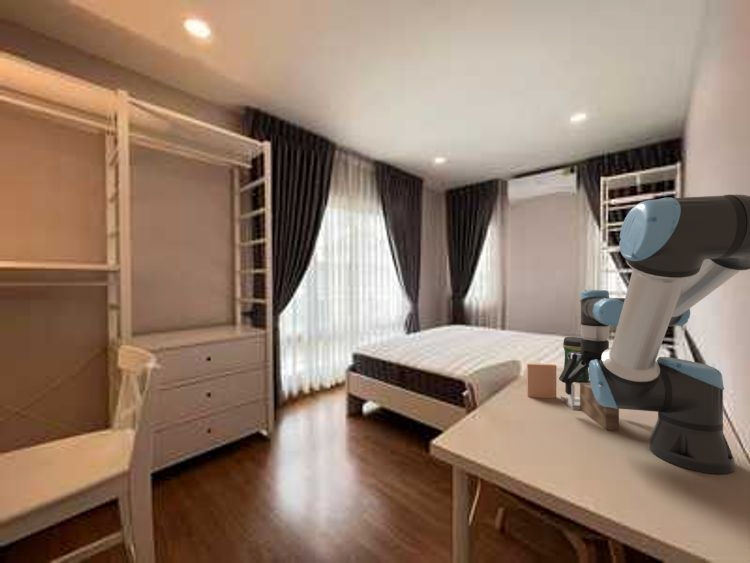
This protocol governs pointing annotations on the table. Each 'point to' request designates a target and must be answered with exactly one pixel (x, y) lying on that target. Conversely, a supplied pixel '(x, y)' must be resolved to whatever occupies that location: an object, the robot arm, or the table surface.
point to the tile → (541, 380)
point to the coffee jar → (575, 347)
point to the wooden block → (595, 408)
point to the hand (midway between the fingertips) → (594, 405)
